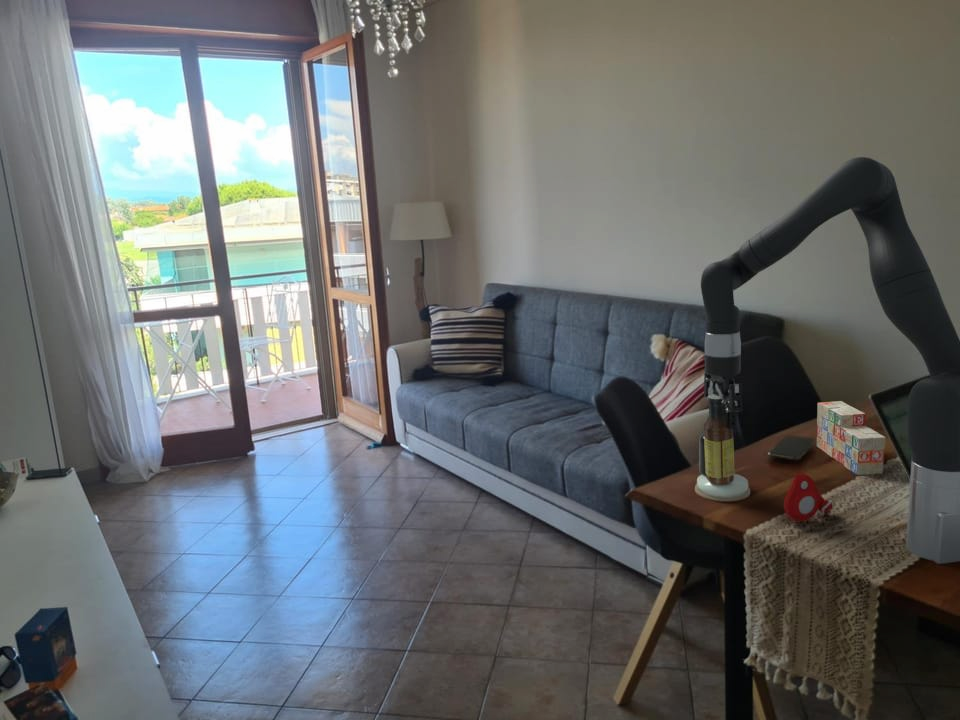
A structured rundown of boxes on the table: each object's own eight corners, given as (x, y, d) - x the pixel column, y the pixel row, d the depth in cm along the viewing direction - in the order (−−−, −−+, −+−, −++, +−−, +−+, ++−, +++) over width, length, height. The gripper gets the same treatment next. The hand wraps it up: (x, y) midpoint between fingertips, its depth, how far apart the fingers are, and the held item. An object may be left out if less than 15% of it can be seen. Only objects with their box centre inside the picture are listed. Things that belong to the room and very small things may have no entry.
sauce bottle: (732, 475, 164) (733, 392, 159) (736, 485, 158) (737, 399, 154) (702, 474, 165) (702, 392, 161) (705, 485, 159) (705, 400, 155)
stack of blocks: (883, 475, 166) (886, 424, 163) (856, 476, 166) (858, 426, 163) (839, 445, 187) (841, 400, 184) (815, 446, 187) (817, 401, 184)
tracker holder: (789, 529, 142) (790, 482, 140) (775, 520, 147) (776, 474, 144) (840, 518, 145) (842, 472, 143) (824, 510, 150) (826, 465, 147)
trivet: (760, 498, 157) (760, 487, 157) (708, 504, 156) (708, 493, 156) (735, 478, 169) (735, 468, 168) (686, 484, 168) (686, 474, 167)
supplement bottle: (717, 480, 162) (717, 430, 160) (693, 472, 168) (692, 424, 165) (735, 472, 166) (736, 423, 163) (711, 465, 171) (712, 417, 169)
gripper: (754, 356, 149) (753, 430, 152) (724, 345, 163) (724, 412, 166) (720, 359, 148) (720, 434, 152) (693, 347, 162) (693, 415, 166)
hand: (722, 422), depth 159 cm, fingers open, 8 cm apart
